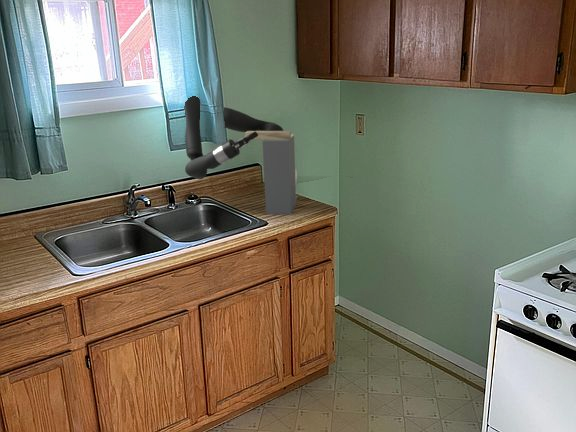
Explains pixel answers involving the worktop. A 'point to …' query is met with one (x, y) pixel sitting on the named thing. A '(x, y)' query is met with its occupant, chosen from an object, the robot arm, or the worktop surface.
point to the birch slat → (270, 135)
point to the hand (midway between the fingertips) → (258, 132)
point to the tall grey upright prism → (279, 176)
